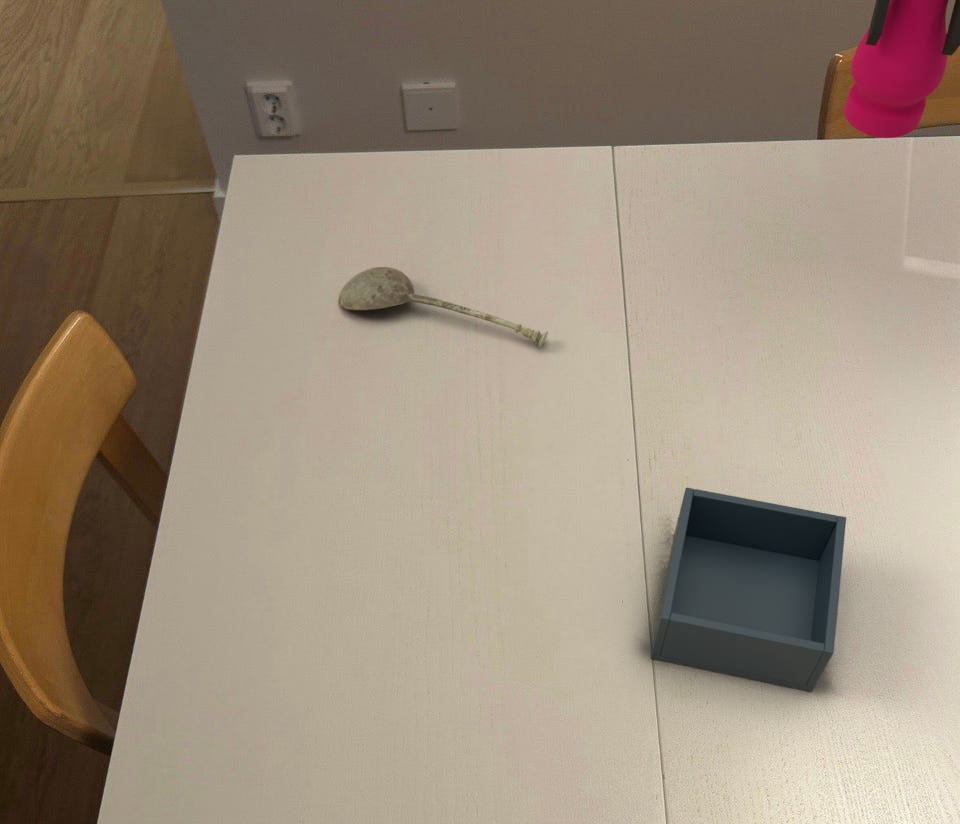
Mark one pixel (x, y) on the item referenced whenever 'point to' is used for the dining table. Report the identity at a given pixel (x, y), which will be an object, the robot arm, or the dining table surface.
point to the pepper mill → (898, 69)
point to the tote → (751, 590)
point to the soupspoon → (407, 297)
